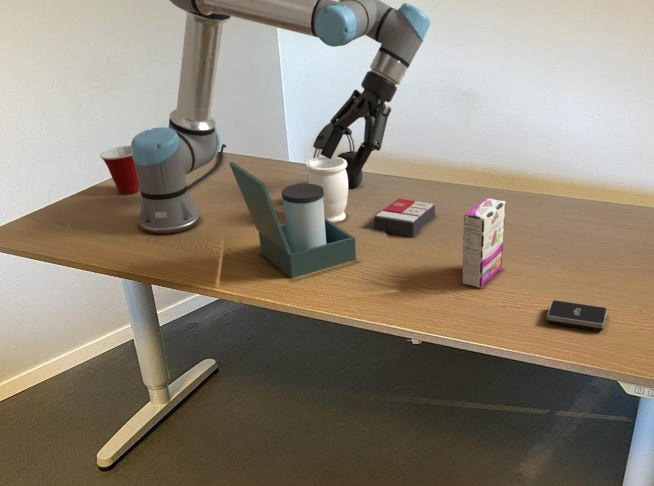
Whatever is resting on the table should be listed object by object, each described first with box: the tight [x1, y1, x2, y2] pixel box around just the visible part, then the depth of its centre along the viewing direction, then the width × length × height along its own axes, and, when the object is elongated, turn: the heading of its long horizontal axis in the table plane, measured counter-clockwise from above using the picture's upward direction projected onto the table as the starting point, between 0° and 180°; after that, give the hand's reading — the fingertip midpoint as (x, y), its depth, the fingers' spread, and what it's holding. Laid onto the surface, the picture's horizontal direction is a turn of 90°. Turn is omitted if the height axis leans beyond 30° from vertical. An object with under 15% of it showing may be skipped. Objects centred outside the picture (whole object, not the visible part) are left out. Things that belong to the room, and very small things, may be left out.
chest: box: [258, 218, 357, 279], centre depth 169 cm, size 17×17×6 cm
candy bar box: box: [461, 197, 507, 289], centre depth 157 cm, size 11×5×16 cm, turn 148°
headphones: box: [307, 122, 363, 189], centre depth 201 cm, size 22×6×20 cm, turn 152°
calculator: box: [373, 198, 436, 237], centre depth 187 cm, size 11×4×15 cm
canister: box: [281, 182, 326, 253], centre depth 166 cm, size 9×9×16 cm
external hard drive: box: [546, 299, 608, 332], centre depth 145 cm, size 7×11×2 cm, turn 70°
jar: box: [306, 156, 349, 222], centre depth 188 cm, size 11×10×15 cm
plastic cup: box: [99, 145, 140, 195], centre depth 208 cm, size 11×11×12 cm
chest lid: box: [228, 161, 291, 254], centre depth 158 cm, size 17×17×1 cm
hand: (338, 165), depth 164 cm, fingers open, 13 cm apart
